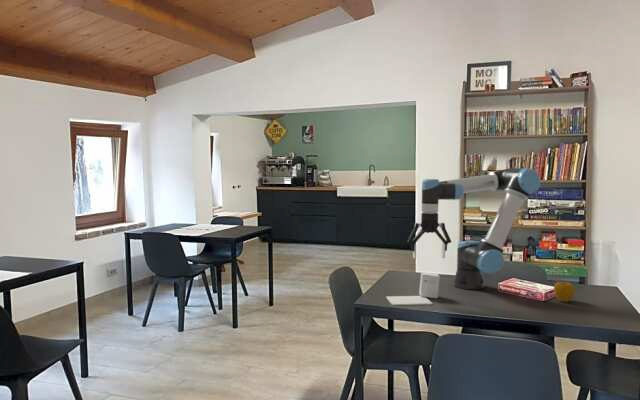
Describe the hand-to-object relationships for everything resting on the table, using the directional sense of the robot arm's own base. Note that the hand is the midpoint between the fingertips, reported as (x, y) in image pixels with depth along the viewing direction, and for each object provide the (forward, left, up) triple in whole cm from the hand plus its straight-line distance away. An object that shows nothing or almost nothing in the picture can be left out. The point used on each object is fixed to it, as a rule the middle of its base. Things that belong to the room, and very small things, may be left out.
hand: (428, 258), depth 221 cm
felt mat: (+11, +6, -18) cm, 22 cm away
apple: (-60, +11, -19) cm, 64 cm away
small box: (0, 0, -18) cm, 18 cm away
